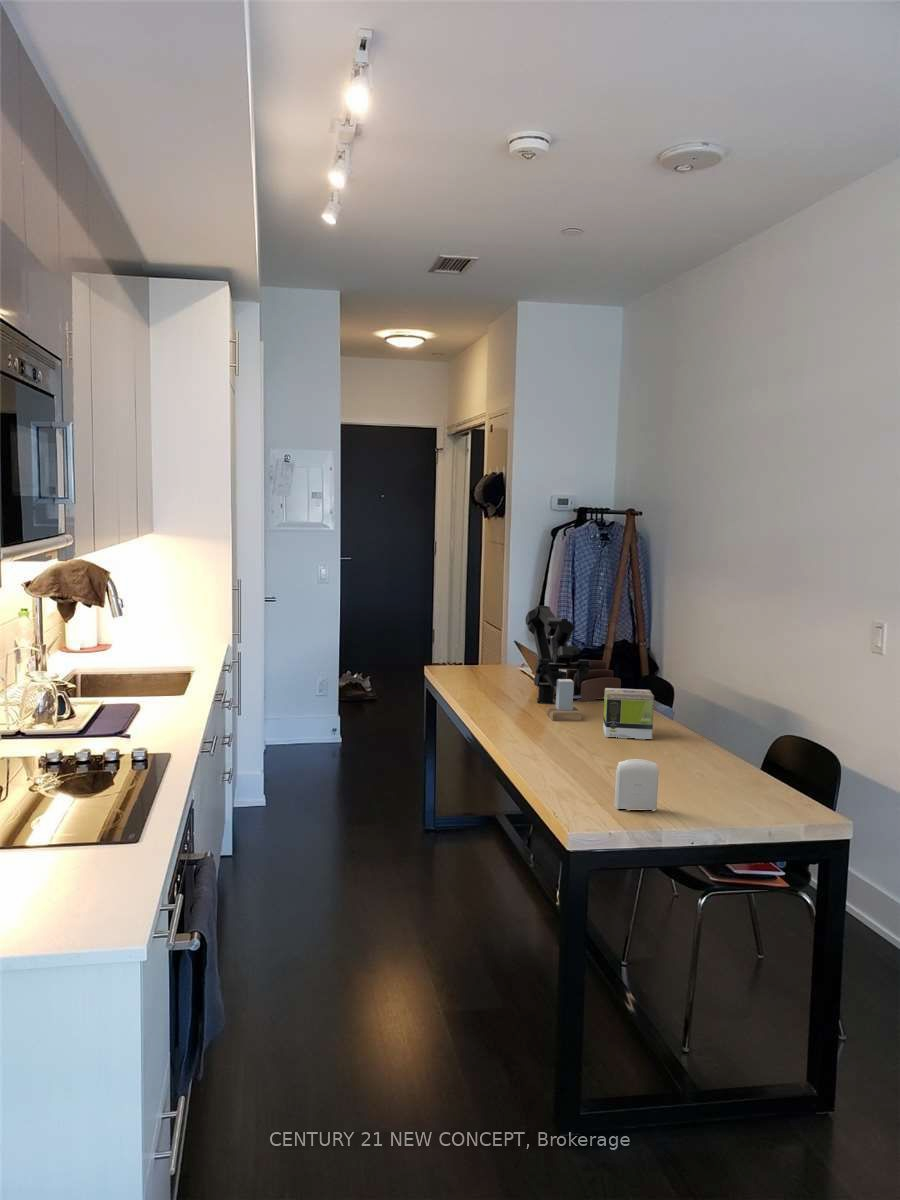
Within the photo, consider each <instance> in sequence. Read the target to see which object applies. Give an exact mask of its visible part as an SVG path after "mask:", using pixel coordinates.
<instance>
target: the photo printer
mask: <svg viewBox="0 0 900 1200" xmlns="http://www.w3.org/2000/svg"><path fill="white" fill-rule="evenodd" d="M615 771H616V773H615V785H614V786H615V790H614V808H615V807H616V808H618V809H646V810H654V809H656V808H657V807H658V795H659V794H658V791H659V790H658V789H659V788H658V787H659V773H660V771H659V769H658V764H657V763H655V762H654V761H651V760H647V759H640V758H639V759H635V758H634V759H631V758H630V759H626V760H622V761H619V762H617V766H616V770H615Z"/></svg>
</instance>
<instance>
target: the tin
mask: <svg viewBox="0 0 900 1200" xmlns="http://www.w3.org/2000/svg"><path fill="white" fill-rule="evenodd" d="M555 691H556V692H555V693H556V694H555V706H556V709H558V710H573V706H574V700H573V693H574V682H573V681H572V680H571V679H566V678H561V679H558V680H557V687H556V690H555Z"/></svg>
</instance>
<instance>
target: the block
mask: <svg viewBox="0 0 900 1200" xmlns="http://www.w3.org/2000/svg"><path fill="white" fill-rule="evenodd" d="M582 713H583V712H581V710H579V709H578V708H577V707H576V706H575V705H573V710H558V709H556V705H546V709H545V715H546V716H547V717H548V718H549V719H550V720H551V721H552V722H582Z"/></svg>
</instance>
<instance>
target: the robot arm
mask: <svg viewBox="0 0 900 1200" xmlns="http://www.w3.org/2000/svg"><path fill="white" fill-rule="evenodd" d="M525 625H526V626H527V629H528V630H527V631H529V632H530V633H531V634H532V635H533V637H534V641H535V642H534V643H535V647H536V651H537V657H538V659H537V661H536V665H535V667H534V669H535V676H534V678H533V685H534V686H536V687H537V688H538V695H537V697H536V703H537V704H549V705H551V704H552V705H553V704H554V705H556V700H555V699H554V698H555V697H554V695H555V687H557V680H558V679H562V678H561V677H562V673H561V670H566V671H567V670H576V673H577V674H576V679H577V686H578V688H579V687H580V684H581V679H582V676H584V675H586V674H588V672H589V669H590V667H591V664H590V661H589V660H590V659H578V661H577V662H578V663H577V664H571V663H572V661H573V656H577V655H579V646H578V644H573V645H572V646H569V645H568V642H570V640H571V637H572V635H573V634H574V630H575V625H574V624H573V623H572V622H571V621H569V620H568V619H567V618H563V617H562V618H557V617H556V616H555V614H554V613H553V612H552V610H551V608H550V606H548V605H537V606H535V608H533V609H532V610H530V611H528V613H527V614H526V616H525ZM548 637H551V638H550V645H549V642H548ZM550 647H551V651H552V652H551V651H550ZM551 653H552V655H551Z"/></svg>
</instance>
